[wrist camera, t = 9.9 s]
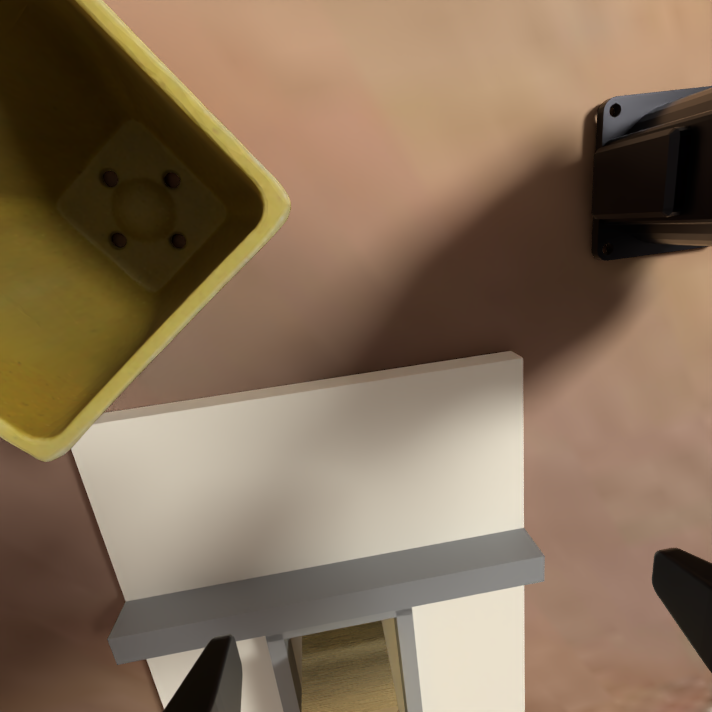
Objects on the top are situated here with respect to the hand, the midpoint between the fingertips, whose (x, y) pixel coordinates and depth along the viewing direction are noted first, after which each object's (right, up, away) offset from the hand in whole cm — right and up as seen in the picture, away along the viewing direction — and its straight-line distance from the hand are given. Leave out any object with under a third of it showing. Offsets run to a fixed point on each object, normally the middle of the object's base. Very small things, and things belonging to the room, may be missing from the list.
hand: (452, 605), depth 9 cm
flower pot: (-10, +11, +8) cm, 17 cm away
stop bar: (-2, -12, +15) cm, 19 cm away
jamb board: (-3, -7, +14) cm, 16 cm away
